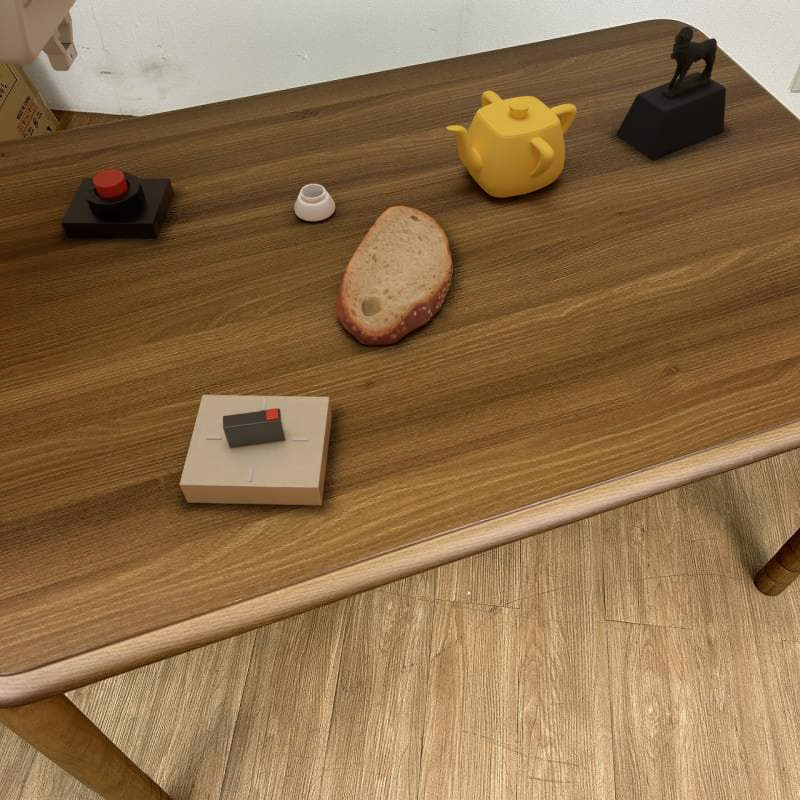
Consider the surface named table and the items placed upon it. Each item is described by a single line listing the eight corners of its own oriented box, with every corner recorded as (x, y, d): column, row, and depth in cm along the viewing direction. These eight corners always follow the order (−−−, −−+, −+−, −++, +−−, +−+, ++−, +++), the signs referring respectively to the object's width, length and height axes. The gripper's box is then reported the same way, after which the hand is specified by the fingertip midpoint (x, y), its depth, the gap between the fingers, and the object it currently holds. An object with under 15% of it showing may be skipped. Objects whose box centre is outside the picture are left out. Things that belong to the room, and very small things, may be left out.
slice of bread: (412, 209, 92) (412, 183, 89) (503, 291, 83) (506, 265, 80) (284, 263, 86) (279, 238, 83) (366, 359, 76) (364, 333, 74)
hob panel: (187, 502, 66) (178, 483, 64) (209, 414, 72) (202, 393, 70) (321, 505, 66) (318, 486, 63) (331, 416, 72) (329, 395, 69)
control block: (67, 237, 90) (54, 210, 87) (89, 192, 95) (78, 165, 92) (157, 238, 89) (147, 210, 86) (174, 193, 95) (165, 165, 92)
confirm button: (94, 199, 88) (89, 186, 87) (102, 181, 91) (97, 168, 89) (123, 199, 88) (119, 187, 87) (131, 181, 91) (127, 169, 89)
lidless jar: (330, 225, 90) (338, 200, 93) (328, 205, 88) (337, 180, 91) (290, 222, 91) (300, 197, 94) (287, 202, 89) (297, 177, 92)
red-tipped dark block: (229, 448, 66) (222, 426, 63) (229, 435, 67) (221, 413, 64) (285, 440, 66) (280, 418, 64) (284, 428, 67) (279, 406, 65)
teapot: (541, 222, 90) (553, 147, 82) (442, 197, 93) (445, 122, 85) (571, 162, 98) (586, 88, 90) (479, 141, 101) (485, 67, 93)
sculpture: (612, 132, 102) (638, 20, 90) (687, 106, 106) (720, -4, 94) (651, 161, 98) (683, 47, 86) (727, 133, 102) (767, 20, 90)
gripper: (16, -126, 73) (67, 18, 84) (-73, -41, 60) (0, 116, 71) (79, -126, 73) (122, 18, 84) (3, -42, 60) (65, 116, 71)
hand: (66, 64), depth 77 cm, fingers closed
